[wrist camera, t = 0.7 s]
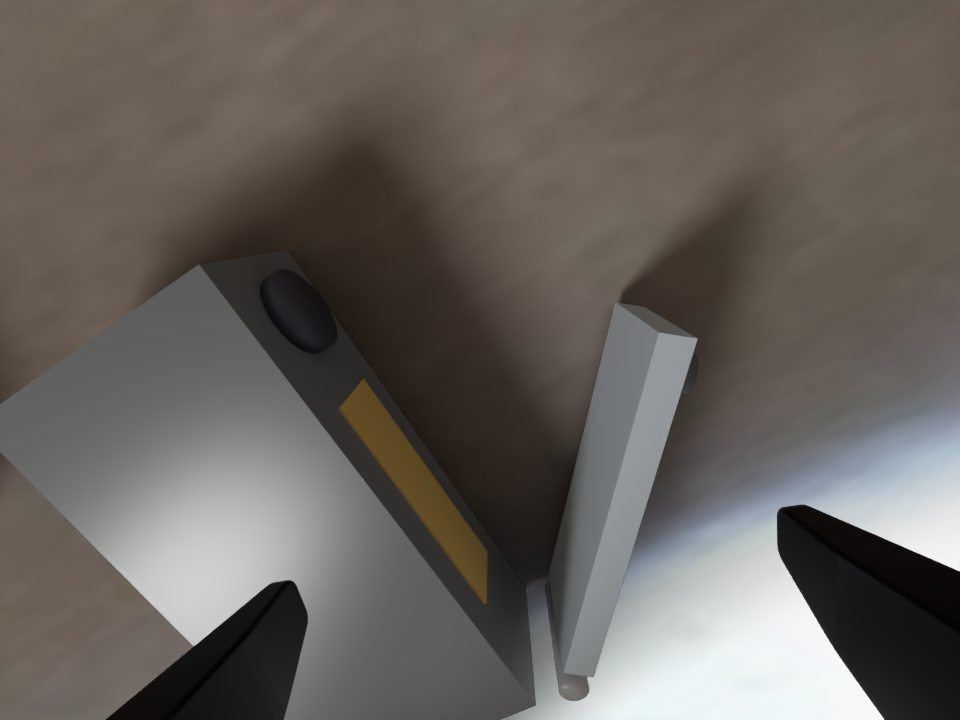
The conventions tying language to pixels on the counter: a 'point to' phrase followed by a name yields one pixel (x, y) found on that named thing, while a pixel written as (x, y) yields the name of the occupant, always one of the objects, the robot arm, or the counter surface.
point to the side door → (613, 483)
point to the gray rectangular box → (278, 495)
